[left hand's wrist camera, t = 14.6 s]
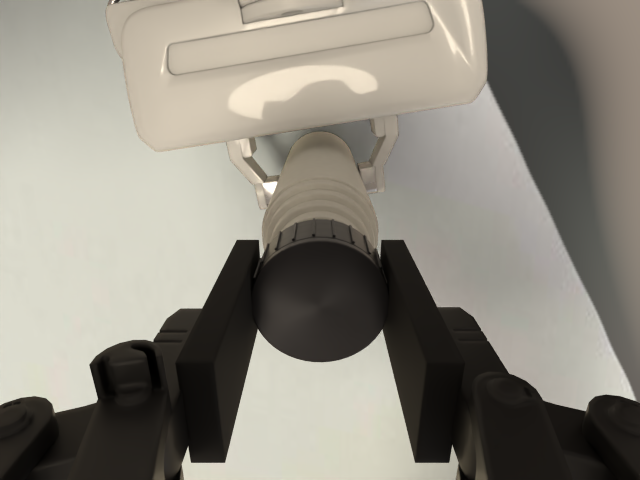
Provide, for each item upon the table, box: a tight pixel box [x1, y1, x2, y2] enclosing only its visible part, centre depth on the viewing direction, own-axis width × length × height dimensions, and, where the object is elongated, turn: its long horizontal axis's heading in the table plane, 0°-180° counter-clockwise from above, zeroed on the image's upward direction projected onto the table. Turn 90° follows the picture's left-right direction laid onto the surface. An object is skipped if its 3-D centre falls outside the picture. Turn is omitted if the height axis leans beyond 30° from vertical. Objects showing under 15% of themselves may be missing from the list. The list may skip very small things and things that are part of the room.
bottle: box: [262, 131, 378, 250], centre depth 23 cm, size 5×5×21 cm
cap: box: [251, 218, 389, 362], centre depth 14 cm, size 4×4×2 cm
